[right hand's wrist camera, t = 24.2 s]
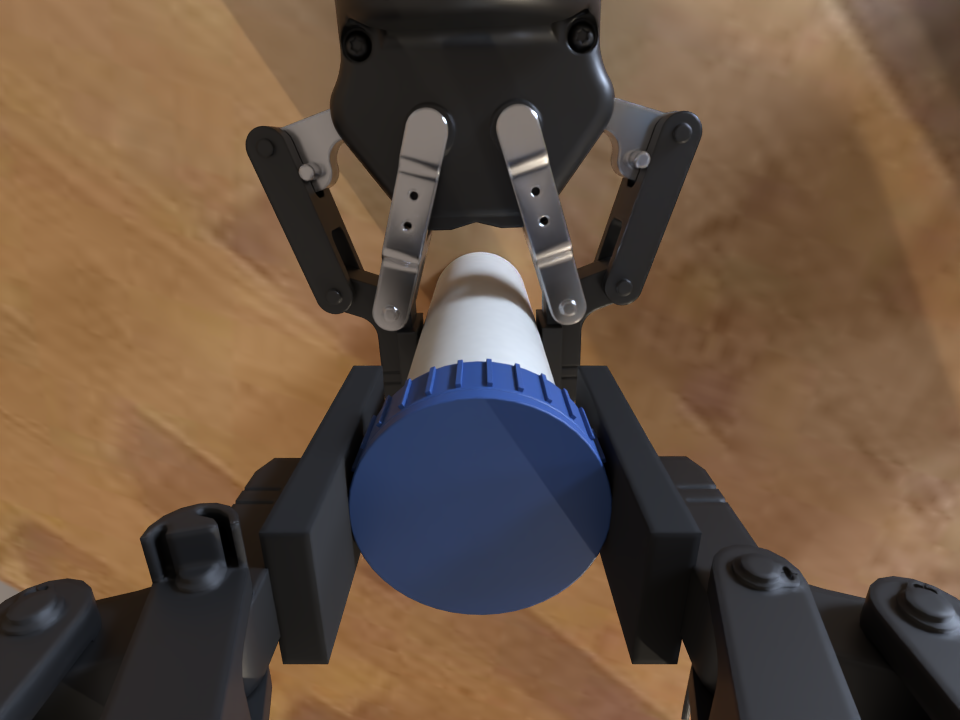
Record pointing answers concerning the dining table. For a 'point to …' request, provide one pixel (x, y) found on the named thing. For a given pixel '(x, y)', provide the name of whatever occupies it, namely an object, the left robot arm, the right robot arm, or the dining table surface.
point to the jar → (480, 318)
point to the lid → (480, 489)
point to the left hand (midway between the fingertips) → (483, 411)
